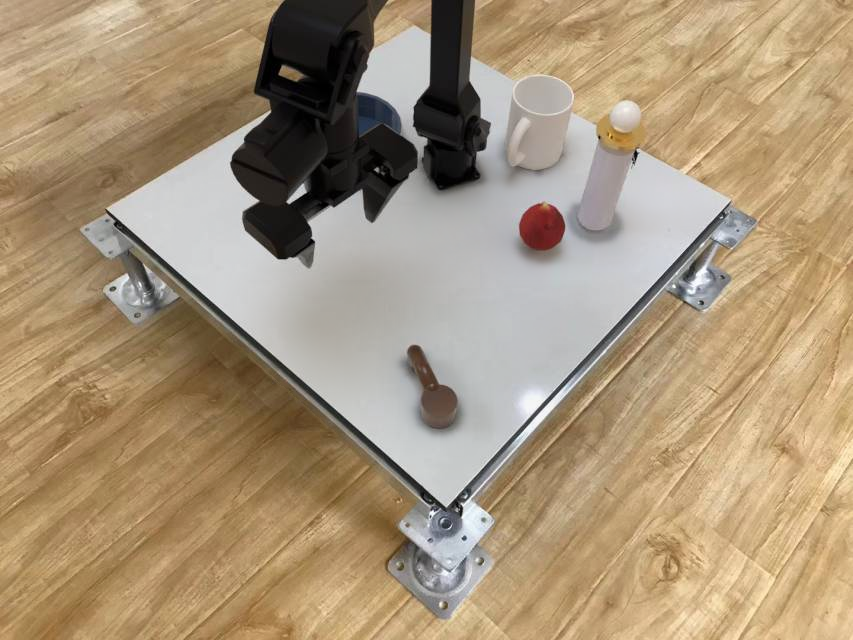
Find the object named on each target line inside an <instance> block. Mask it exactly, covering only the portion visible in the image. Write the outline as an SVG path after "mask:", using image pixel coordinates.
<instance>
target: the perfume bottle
mask: <svg viewBox="0 0 853 640" xmlns="http://www.w3.org/2000/svg"><path fill="white" fill-rule="evenodd" d="M642 116H643V115H642V110H641V108H640V106H639V104H637V103H636V102H634V101H632V100H630V99H629V100H628V99H627V100H626V99H624V100H620V101H618V102H617V103H616V104H614V105H613V107H611V110H610V112H609V114H607V115H604V116H603V117H601V118H600V119H599V120H598V121H597V125H596V128H595V134H596V137H597V144H596V147H595V150H594V153H593V158H592V161H591V164H590V168H589V171H588V176H587V178H586V182H585V185H584V189H583V193H582V197H581V201H580V203H579V208H578V211H577V215H576V216H577V220H578V223H579V224H580V225H581V226H582V227H584V228H586V229H588V230H590V231H602V230H605V229H607V228H608V227H609V226H610V225H611V224H612V220H613V218H614V215H615V211H616V208H617V205H618V203H619V199H620V196H621V193H622V191H623V187H624V185H625V182H626V179H627V176H628V173H629V170H630V169H631V170H632V169H633V166H635V165H636V162H637V160H638V156H639V154H640V153H641V152H639V151H638V149H640V148H641V146H642V145H643V143H644V142H645V139H646V135H647V131H646V128H645V126H644V125H643V123H642V122H641V121H642V118H643V117H642ZM631 164H632V165H631ZM630 167H631V168H630Z"/></svg>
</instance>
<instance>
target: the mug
mask: <svg viewBox="0 0 853 640" xmlns="http://www.w3.org/2000/svg"><path fill="white" fill-rule="evenodd" d="M574 102H575V94H574V91H573V89H572V88H571V86H570V85H569V84H568V83H567V82H565V81H564V80H563V79H560V78H558V77H555V76H552V75H548V74H532V75H527V76H525V77H522V78H521V79H519V80H518V81H517V82H516V83H515V85H514V86H513V88H512V93H511V100H510V107H509V112H508V119H507V126H506V134H505V141H504V150H505V154H506V157H505V158H506V163H507V165H508V166H510V167H511V168H513V167H517V166H518V167H520V168H522V169H525V170H532V171H539V170H545V169H548V168H550V167H552V166H554V165H556V163H557V162H558V161H559V160H560V158H561V155H562V153H563V150H564V146H565V141H566V136H567V133H568V127H569V124H570V121H571V115H572V110H573V106H574Z"/></svg>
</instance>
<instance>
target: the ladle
mask: <svg viewBox="0 0 853 640" xmlns="http://www.w3.org/2000/svg"><path fill="white" fill-rule="evenodd" d="M406 355H407V365H408V366H409V369H410V371H411V372H415V374H416V376H417V378H418V380H419V382H420V384H421V386H422V388H423V393H422V395H421V397H420V417H421V419H422V421H423V423H425V425H427V426H428V427H429V428H430V427H431V428H433V429H444V428H447V427H449V426H450V425H451V424H452V423H454V421H455V419H456V415H457V408H458V395H457V394H456V392H455V391H454V390H453V389H452V388H451V387H450V386H447V385H445V384H441V383H439V381H438V378H437V377H436V375H435V373H434V371H433V369H432V366H431V365H430V362H429V360H428V358H427V356H426V354H425V353H424V350H423V348H422V347H421V346H420V345H419V344H411V345H409V346H408V348H407V350H406Z"/></svg>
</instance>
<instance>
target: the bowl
mask: <svg viewBox="0 0 853 640" xmlns="http://www.w3.org/2000/svg"><path fill="white" fill-rule="evenodd" d="M357 104H358V121H359V136H361V135H362V134H364V133H365V132H367V131H368V130H370V129H372V128H373V127H375V126H376V125H378V124H381V123H383V124H385V125H387V126H389V127H390V128H392V129H393V130H395V131H396V132H397V133H399V134H400V135H402V136H403V125H402V118H401V116H400V113H398V111H397V109H396V108H395V107H394V106H393V105H392V104H390V102H388V101H387V100H385V99H383V98H382V97H380V96H377V95H376V94H375V95H374V94H371V93H368V92H361V91H357Z"/></svg>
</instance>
